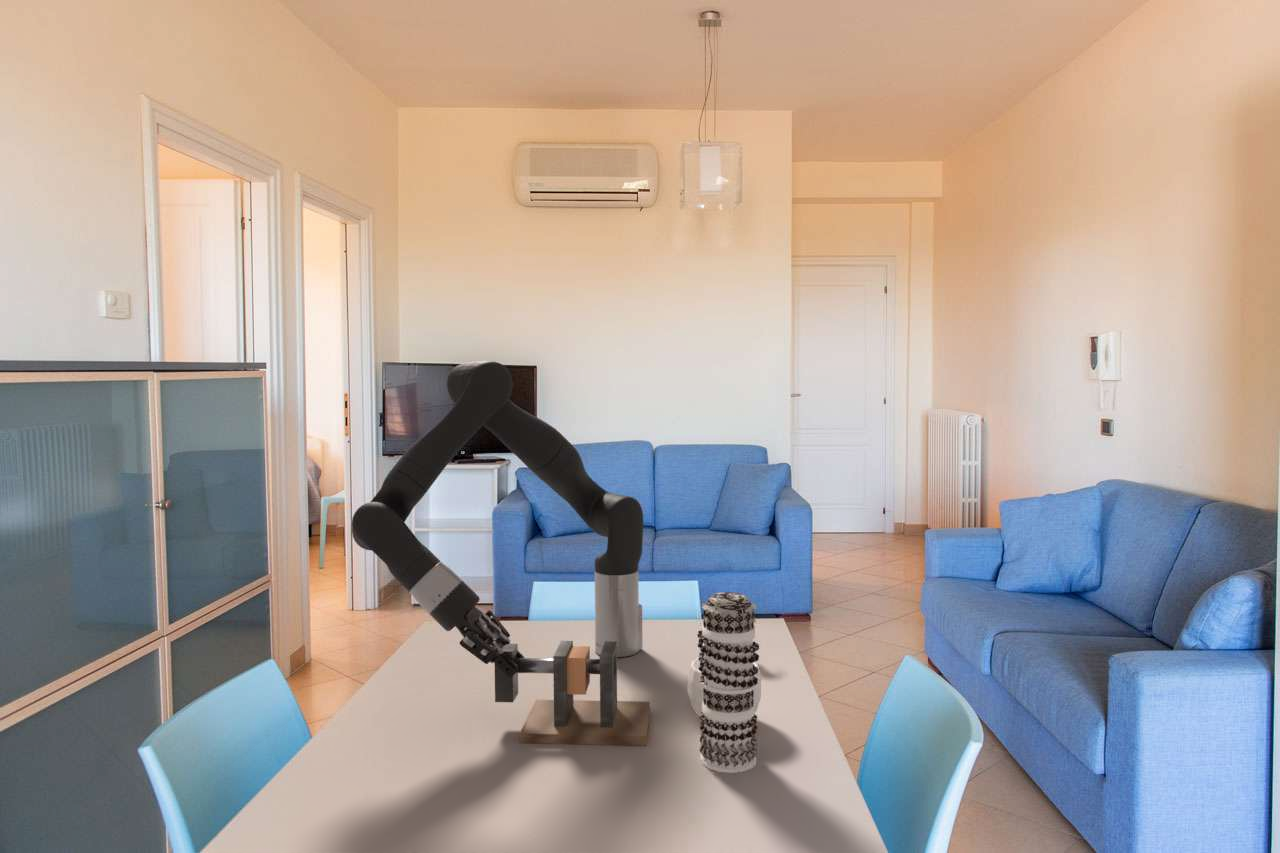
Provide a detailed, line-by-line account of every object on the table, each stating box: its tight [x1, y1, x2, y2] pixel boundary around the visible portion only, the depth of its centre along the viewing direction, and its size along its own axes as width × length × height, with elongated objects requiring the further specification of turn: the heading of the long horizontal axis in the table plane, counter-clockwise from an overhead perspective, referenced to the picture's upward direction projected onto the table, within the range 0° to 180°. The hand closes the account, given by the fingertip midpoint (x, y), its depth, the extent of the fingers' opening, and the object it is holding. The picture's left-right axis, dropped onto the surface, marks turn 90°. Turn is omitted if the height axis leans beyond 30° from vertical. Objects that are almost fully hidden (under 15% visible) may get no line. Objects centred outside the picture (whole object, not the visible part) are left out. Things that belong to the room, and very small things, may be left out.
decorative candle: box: [697, 591, 760, 774], centre depth 124 cm, size 9×9×25 cm
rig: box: [519, 640, 651, 746], centre depth 137 cm, size 20×14×13 cm
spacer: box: [567, 645, 591, 696], centre depth 137 cm, size 3×6×6 cm, turn 176°
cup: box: [687, 657, 762, 718], centre depth 139 cm, size 12×12×10 cm
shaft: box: [494, 643, 600, 703], centre depth 138 cm, size 18×4×8 cm, turn 86°
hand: (517, 667), depth 138 cm, fingers closed on shaft, 4 cm apart
